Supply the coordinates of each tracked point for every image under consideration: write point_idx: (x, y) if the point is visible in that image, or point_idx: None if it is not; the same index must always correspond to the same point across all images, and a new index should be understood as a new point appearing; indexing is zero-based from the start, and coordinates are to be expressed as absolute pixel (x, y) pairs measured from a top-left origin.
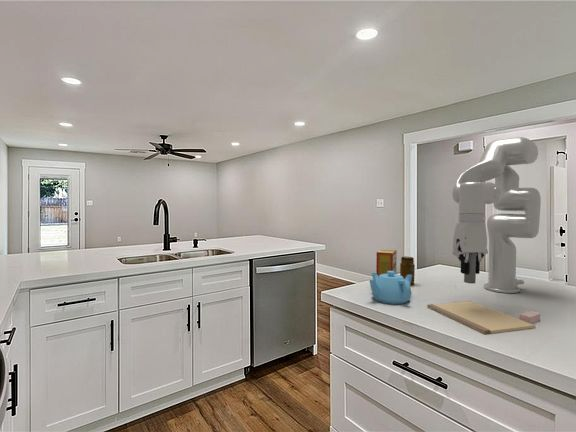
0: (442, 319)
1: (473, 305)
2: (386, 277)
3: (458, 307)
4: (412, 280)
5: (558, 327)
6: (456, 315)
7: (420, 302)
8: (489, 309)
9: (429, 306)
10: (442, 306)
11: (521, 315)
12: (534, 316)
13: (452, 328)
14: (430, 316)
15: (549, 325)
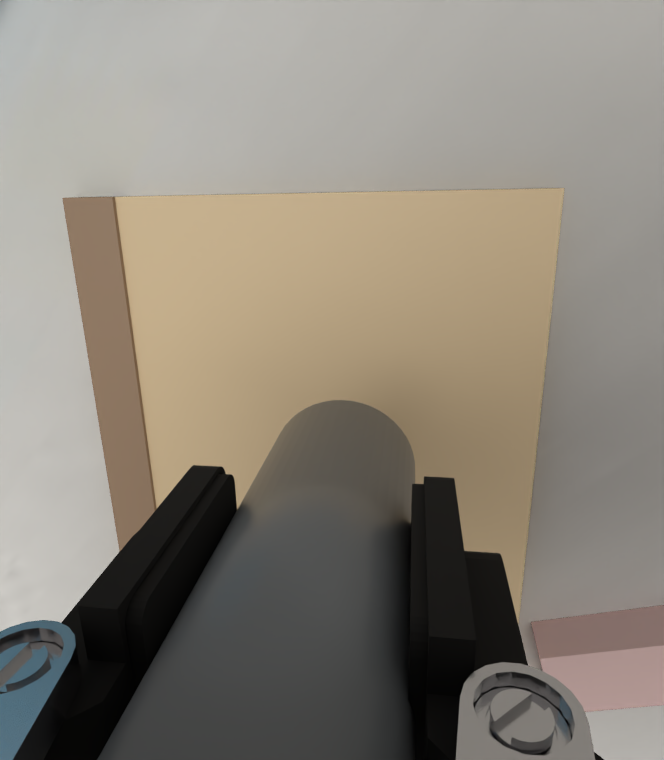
0: (56, 451)
1: (466, 318)
2: None
3: (291, 326)
4: None
5: (655, 754)
6: (141, 480)
7: (88, 32)
8: (507, 441)
9: (73, 226)
10: (173, 266)
11: (542, 665)
12: (612, 704)
13: (38, 573)
14: (6, 383)
15: (639, 722)
